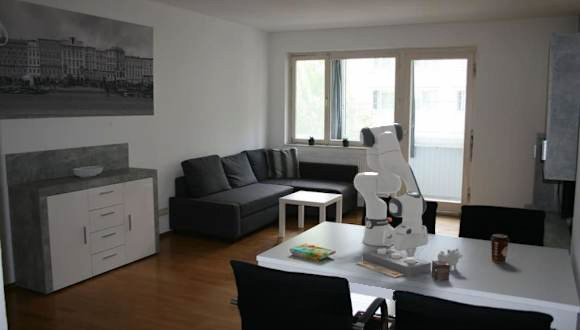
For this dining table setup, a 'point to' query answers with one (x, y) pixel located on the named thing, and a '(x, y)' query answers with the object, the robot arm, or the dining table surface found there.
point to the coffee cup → (499, 247)
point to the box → (440, 270)
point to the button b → (395, 255)
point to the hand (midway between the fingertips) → (410, 256)
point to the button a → (381, 251)
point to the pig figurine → (450, 257)
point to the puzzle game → (311, 252)
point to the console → (397, 262)
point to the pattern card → (380, 269)
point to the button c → (410, 260)
